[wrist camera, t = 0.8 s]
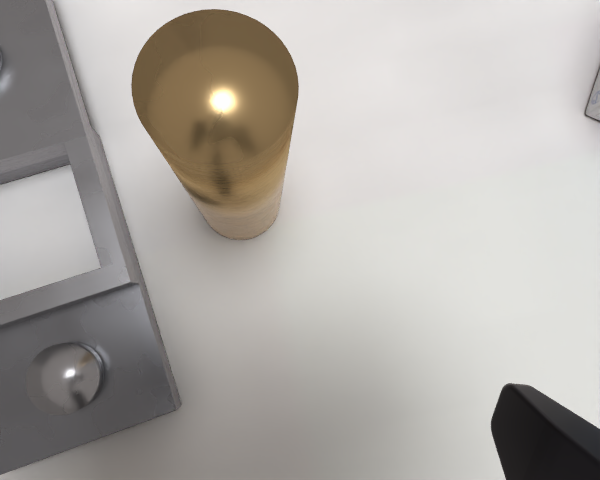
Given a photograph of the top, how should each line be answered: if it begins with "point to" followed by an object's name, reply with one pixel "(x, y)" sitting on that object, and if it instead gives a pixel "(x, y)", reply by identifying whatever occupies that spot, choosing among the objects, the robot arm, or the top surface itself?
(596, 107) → the light bulb box
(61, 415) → the grey frame with knob
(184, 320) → the top surface
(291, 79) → the bronze cylinder
